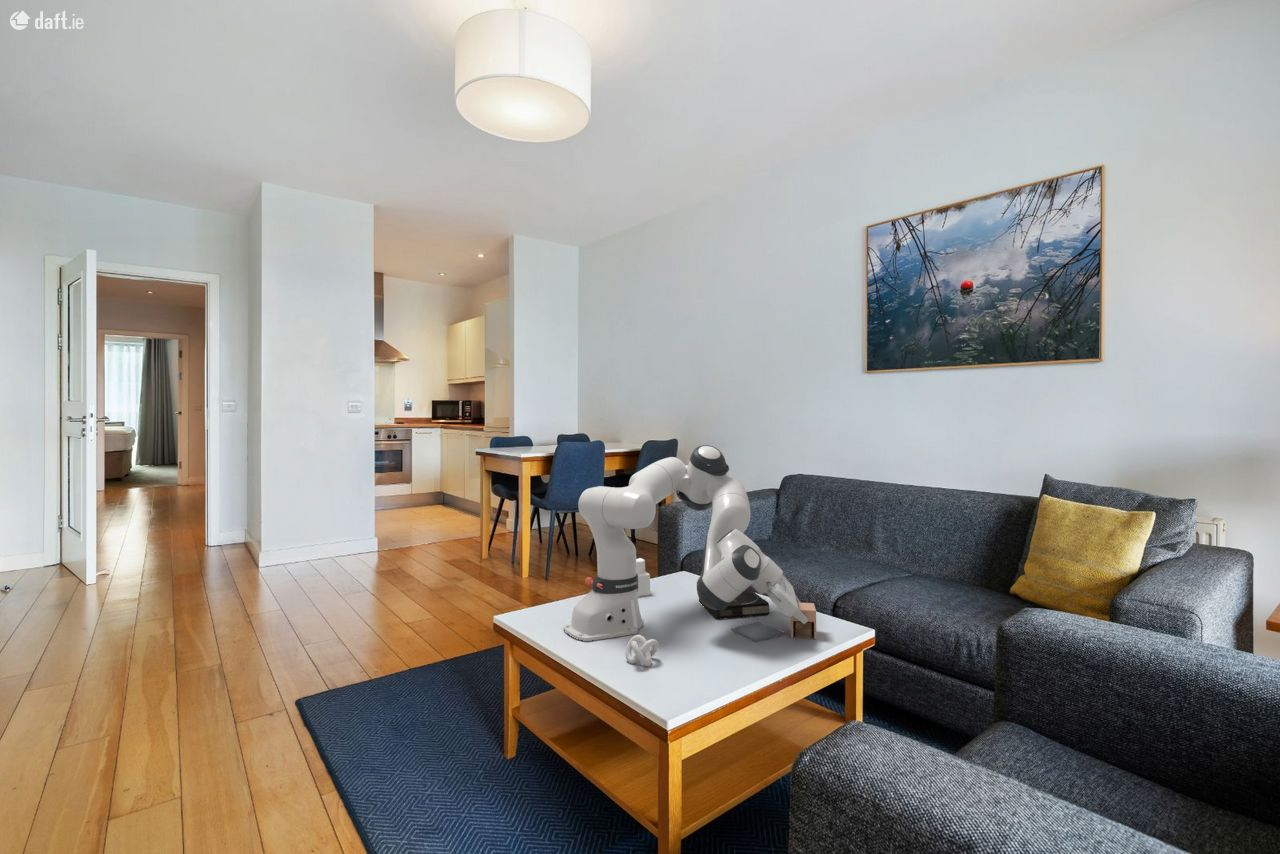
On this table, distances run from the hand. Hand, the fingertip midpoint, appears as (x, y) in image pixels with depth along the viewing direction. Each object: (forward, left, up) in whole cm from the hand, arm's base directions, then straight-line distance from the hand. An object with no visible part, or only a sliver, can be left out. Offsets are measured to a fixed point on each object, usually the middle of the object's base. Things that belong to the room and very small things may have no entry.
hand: (804, 615), depth 163 cm
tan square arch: (0, 0, -5) cm, 5 cm away
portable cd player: (-1, +27, -6) cm, 28 cm away
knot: (-45, +9, -5) cm, 47 cm away
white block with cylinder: (-17, +57, -5) cm, 60 cm away
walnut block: (0, 0, -5) cm, 5 cm away
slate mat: (-9, +8, -5) cm, 14 cm away
